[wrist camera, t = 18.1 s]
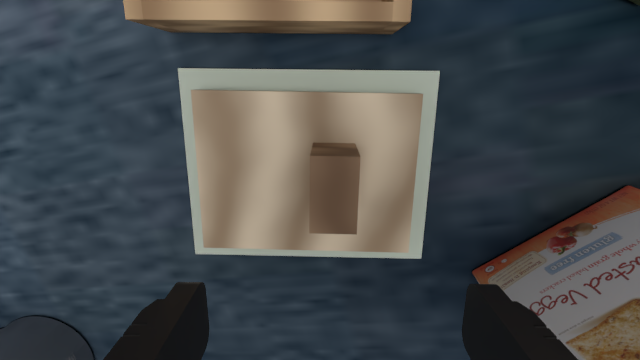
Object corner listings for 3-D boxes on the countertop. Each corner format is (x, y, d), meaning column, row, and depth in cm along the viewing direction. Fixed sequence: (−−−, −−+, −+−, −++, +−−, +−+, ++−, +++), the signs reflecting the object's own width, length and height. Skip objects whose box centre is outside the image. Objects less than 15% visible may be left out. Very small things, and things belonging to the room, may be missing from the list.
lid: (211, 237, 30) (180, 278, 24) (199, 89, 26) (161, 92, 20) (403, 242, 29) (423, 285, 23) (417, 92, 26) (443, 97, 20)
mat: (197, 250, 31) (195, 254, 30) (181, 68, 27) (177, 68, 26) (419, 255, 30) (421, 258, 30) (437, 71, 26) (439, 70, 26)
